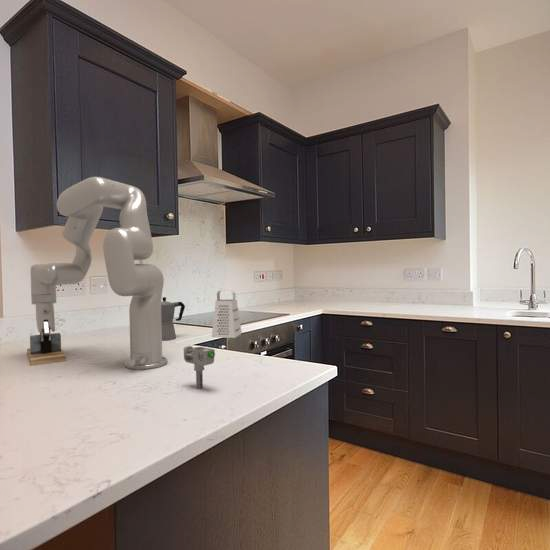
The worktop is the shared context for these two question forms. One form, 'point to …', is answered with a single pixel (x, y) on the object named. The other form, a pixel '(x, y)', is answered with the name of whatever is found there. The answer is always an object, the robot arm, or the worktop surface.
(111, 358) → the worktop surface
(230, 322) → the grater
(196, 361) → the mechanical component
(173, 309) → the coffeepot
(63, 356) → the pine board
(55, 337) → the sanding block
